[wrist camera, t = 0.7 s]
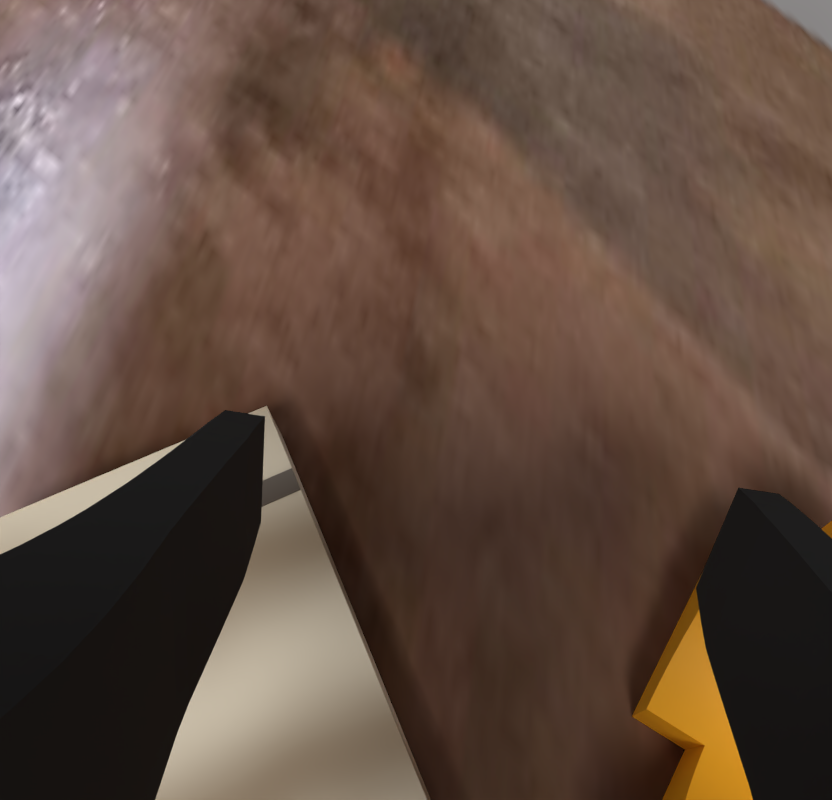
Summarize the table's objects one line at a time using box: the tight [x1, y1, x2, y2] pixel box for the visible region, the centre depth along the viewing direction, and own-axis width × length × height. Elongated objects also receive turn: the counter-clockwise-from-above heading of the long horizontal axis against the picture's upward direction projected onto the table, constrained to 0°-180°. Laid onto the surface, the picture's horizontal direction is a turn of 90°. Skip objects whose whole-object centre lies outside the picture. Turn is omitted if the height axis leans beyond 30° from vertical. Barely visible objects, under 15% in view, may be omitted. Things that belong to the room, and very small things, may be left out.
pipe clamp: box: [632, 521, 832, 800], centre depth 21 cm, size 12×4×6 cm, turn 147°
